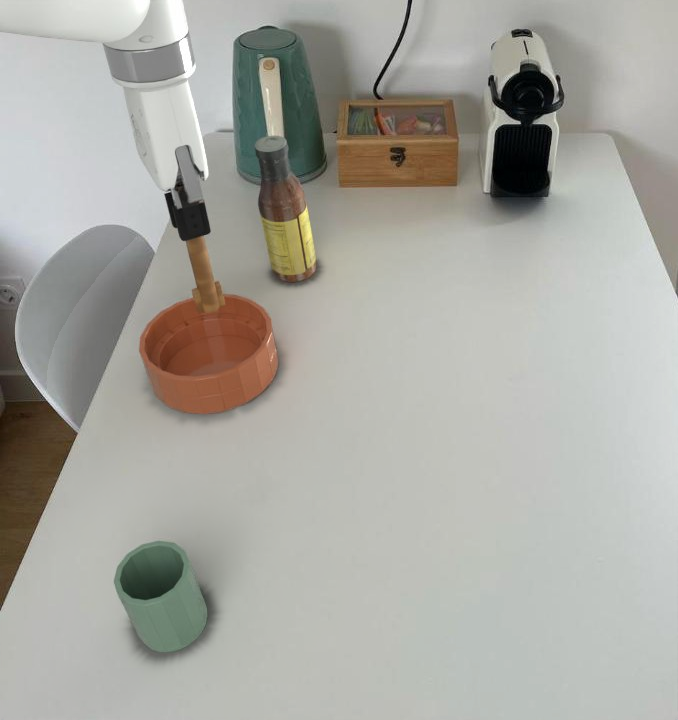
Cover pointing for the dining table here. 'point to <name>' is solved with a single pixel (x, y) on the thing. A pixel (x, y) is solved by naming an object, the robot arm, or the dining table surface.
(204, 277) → the wooden dowel rod
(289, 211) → the sauce bottle
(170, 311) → the bowl
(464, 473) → the dining table surface
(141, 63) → the robot arm
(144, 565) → the crock
